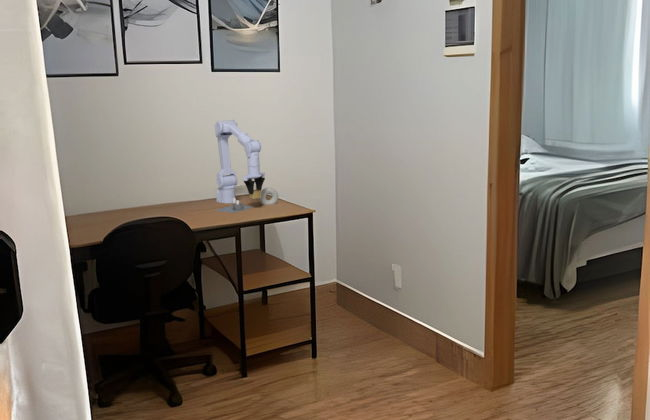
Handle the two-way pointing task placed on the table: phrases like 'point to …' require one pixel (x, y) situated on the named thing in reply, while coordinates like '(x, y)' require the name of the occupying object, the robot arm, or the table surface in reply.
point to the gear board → (230, 209)
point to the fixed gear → (237, 206)
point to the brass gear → (256, 194)
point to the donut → (268, 191)
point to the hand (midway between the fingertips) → (255, 193)
